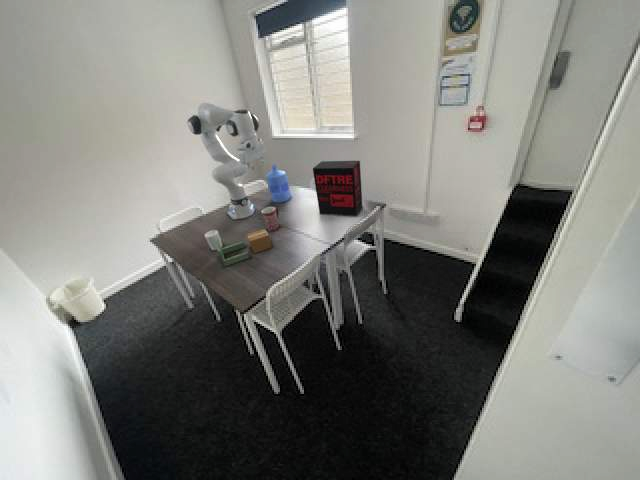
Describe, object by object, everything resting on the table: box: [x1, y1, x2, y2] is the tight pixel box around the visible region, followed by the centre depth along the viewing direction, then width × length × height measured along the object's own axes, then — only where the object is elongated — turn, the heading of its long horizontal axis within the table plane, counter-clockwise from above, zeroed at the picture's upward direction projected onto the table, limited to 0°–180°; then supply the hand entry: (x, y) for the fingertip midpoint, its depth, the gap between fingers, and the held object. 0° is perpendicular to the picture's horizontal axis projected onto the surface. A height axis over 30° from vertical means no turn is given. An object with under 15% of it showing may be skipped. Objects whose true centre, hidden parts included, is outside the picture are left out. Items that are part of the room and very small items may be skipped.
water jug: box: [265, 164, 292, 204], centre depth 205 cm, size 16×16×28 cm
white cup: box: [204, 229, 223, 251], centre depth 158 cm, size 8×8×10 cm
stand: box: [216, 239, 250, 268], centre depth 147 cm, size 14×14×10 cm
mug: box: [261, 206, 280, 232], centre depth 170 cm, size 13×9×14 cm
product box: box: [312, 160, 363, 217], centre depth 172 cm, size 26×14×32 cm, turn 67°
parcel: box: [246, 228, 273, 254], centre depth 152 cm, size 11×9×9 cm
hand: (257, 167), depth 150 cm, fingers open, 8 cm apart
